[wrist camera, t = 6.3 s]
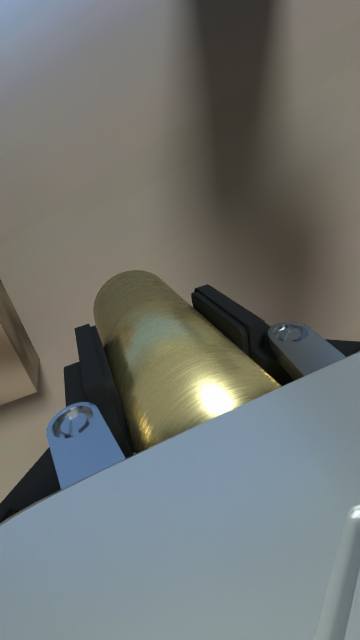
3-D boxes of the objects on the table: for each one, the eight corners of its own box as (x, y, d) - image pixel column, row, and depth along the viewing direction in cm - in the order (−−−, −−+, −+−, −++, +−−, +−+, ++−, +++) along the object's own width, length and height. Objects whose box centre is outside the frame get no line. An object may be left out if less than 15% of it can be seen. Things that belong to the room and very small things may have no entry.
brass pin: (81, 284, 13) (133, 463, 5) (163, 260, 14) (327, 372, 6) (107, 355, 15) (177, 573, 7) (178, 330, 16) (317, 491, 8)
